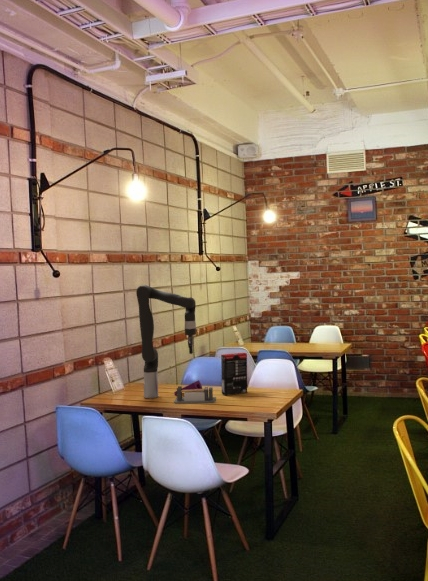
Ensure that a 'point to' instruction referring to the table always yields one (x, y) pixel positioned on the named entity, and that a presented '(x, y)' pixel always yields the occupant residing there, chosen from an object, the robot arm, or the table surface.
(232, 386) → the graphics card box
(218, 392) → the table surface
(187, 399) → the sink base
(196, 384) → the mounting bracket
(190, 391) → the strap
